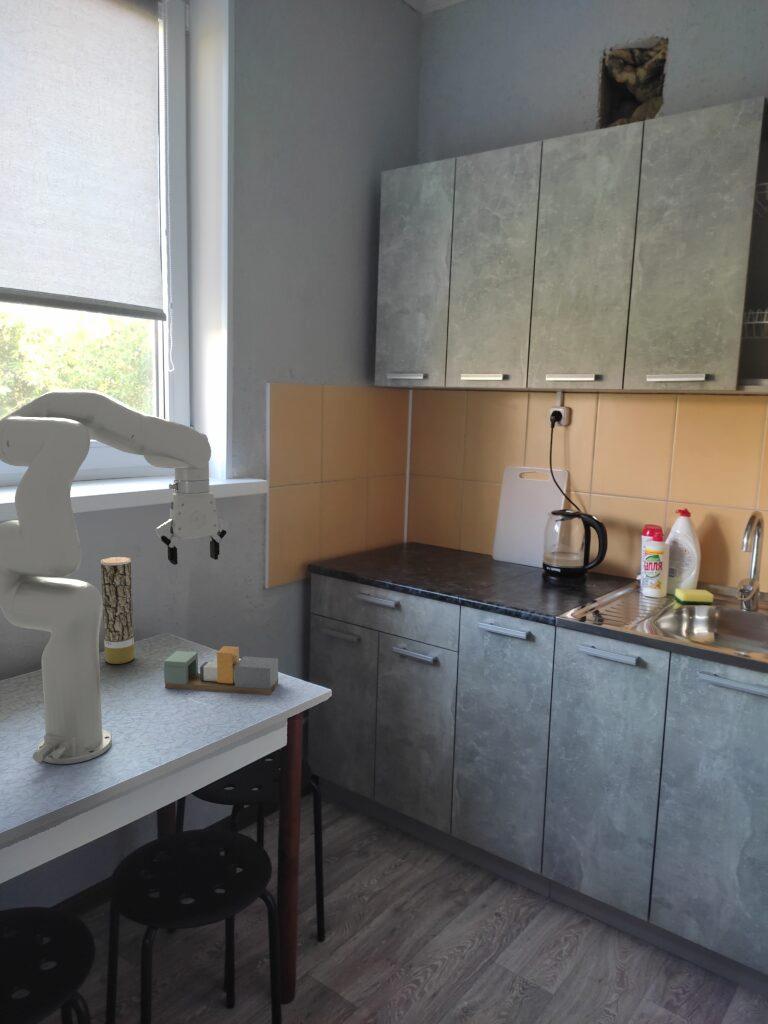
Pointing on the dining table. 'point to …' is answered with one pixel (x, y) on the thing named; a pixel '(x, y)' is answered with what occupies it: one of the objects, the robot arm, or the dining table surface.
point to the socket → (180, 667)
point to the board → (217, 686)
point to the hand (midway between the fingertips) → (194, 561)
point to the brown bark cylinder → (117, 610)
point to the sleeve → (256, 672)
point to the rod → (221, 666)
